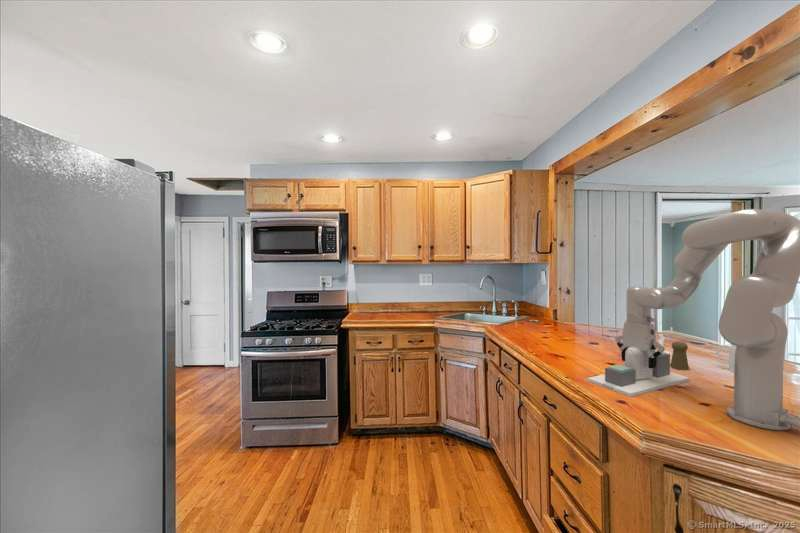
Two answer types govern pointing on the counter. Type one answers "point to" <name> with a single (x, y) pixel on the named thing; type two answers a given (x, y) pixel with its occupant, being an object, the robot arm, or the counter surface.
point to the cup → (731, 356)
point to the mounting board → (627, 384)
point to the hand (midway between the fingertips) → (638, 364)
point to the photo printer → (638, 362)
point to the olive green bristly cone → (679, 356)
